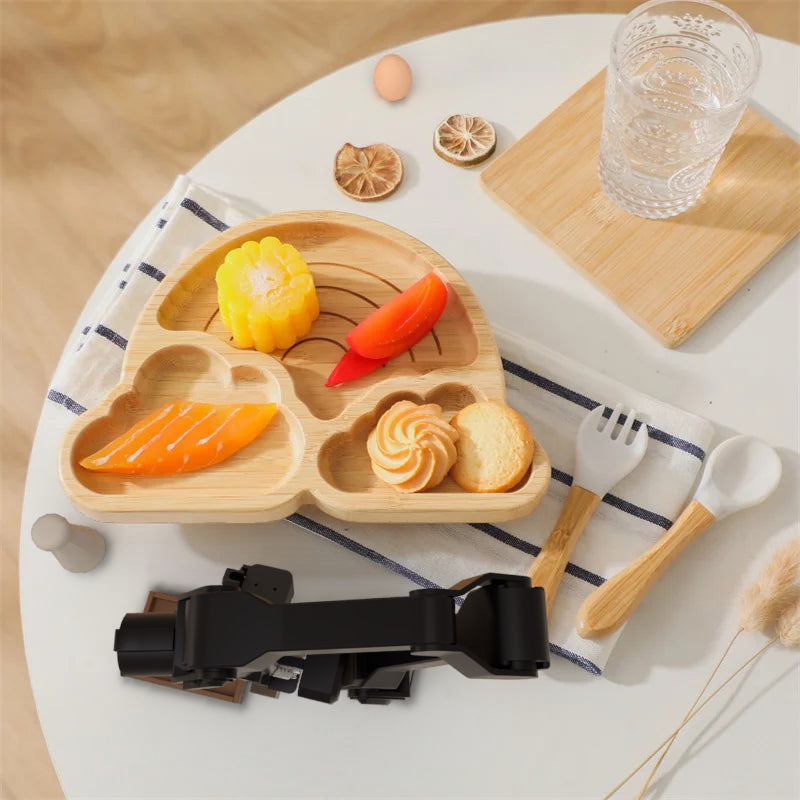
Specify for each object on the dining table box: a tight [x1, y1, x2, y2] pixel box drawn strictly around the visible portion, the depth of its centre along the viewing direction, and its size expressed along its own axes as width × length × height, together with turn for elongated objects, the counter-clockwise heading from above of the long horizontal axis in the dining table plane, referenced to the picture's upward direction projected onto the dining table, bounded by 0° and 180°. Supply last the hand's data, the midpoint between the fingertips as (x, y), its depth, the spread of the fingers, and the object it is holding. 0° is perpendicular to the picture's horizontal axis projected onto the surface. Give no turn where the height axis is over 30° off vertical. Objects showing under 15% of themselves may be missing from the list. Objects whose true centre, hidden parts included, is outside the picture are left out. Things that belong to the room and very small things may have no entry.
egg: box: [372, 53, 413, 102], centre depth 135 cm, size 6×6×8 cm
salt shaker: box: [30, 513, 106, 574], centre depth 109 cm, size 6×6×13 cm
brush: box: [249, 683, 281, 700], centre depth 101 cm, size 3×7×7 cm, turn 167°
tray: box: [128, 590, 248, 705], centre depth 109 cm, size 14×10×2 cm
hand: (269, 661), depth 101 cm, fingers closed on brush, 2 cm apart
